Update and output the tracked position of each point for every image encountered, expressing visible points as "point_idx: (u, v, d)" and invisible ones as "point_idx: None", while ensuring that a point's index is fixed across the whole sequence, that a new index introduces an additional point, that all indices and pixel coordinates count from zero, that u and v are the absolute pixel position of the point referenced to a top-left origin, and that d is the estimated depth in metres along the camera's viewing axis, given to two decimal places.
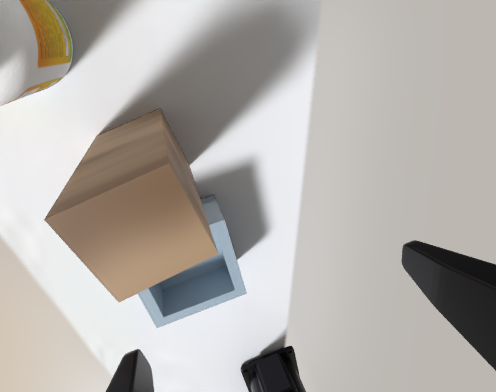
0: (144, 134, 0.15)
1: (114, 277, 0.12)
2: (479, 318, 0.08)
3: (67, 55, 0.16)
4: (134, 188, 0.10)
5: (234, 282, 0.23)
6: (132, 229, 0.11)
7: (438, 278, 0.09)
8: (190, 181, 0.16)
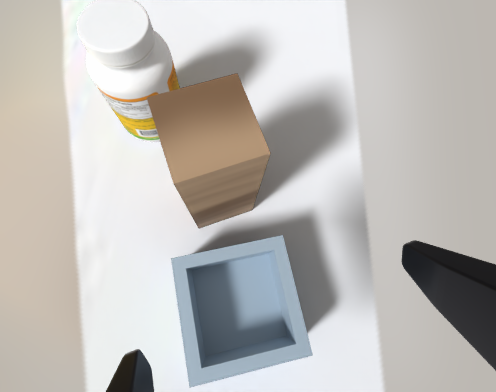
0: None
1: (177, 155, 0.13)
2: (479, 318, 0.08)
3: None
4: (211, 86, 0.14)
5: (295, 329, 0.18)
6: (202, 115, 0.14)
7: (438, 278, 0.09)
8: None
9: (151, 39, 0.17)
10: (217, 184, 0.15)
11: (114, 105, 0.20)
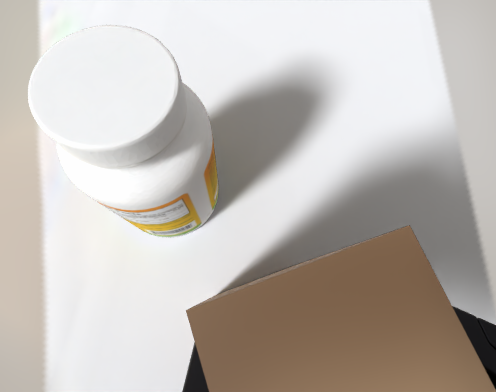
0: None
1: None
2: None
3: (214, 199, 0.15)
4: (351, 266, 0.05)
5: None
6: (340, 366, 0.05)
7: None
8: None
9: (182, 111, 0.09)
10: None
11: None
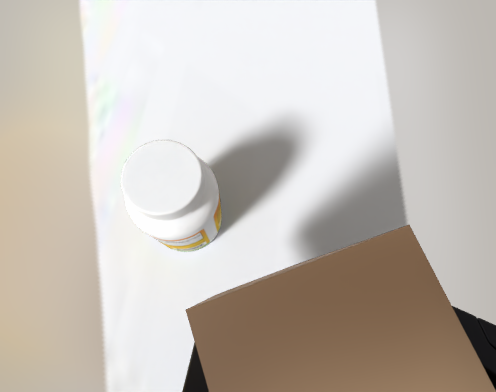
0: None
1: None
2: None
3: (219, 225, 0.22)
4: (351, 266, 0.05)
5: None
6: (339, 364, 0.05)
7: None
8: None
9: (203, 187, 0.15)
10: None
11: None
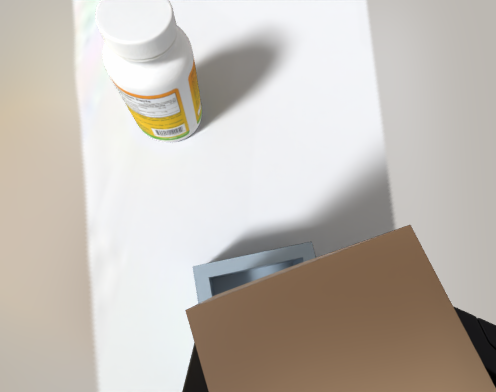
0: (298, 264, 0.11)
1: None
2: None
3: (198, 114, 0.23)
4: (352, 266, 0.05)
5: None
6: (340, 366, 0.05)
7: None
8: None
9: (174, 31, 0.16)
10: None
11: (131, 102, 0.19)
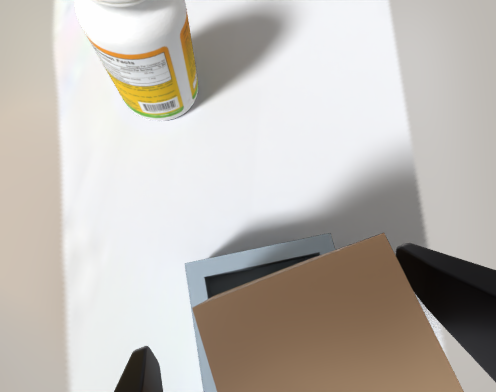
0: None
1: None
2: (471, 321, 0.08)
3: (193, 87, 0.20)
4: (333, 269, 0.06)
5: None
6: (322, 353, 0.06)
7: (431, 281, 0.09)
8: None
9: None
10: None
11: (111, 66, 0.16)
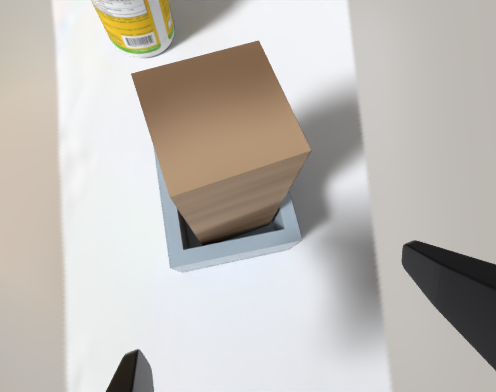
0: None
1: (175, 155, 0.09)
2: (479, 318, 0.08)
3: (168, 27, 0.23)
4: (223, 57, 0.10)
5: (283, 215, 0.17)
6: (210, 98, 0.10)
7: (438, 278, 0.09)
8: None
9: None
10: (231, 196, 0.11)
11: None
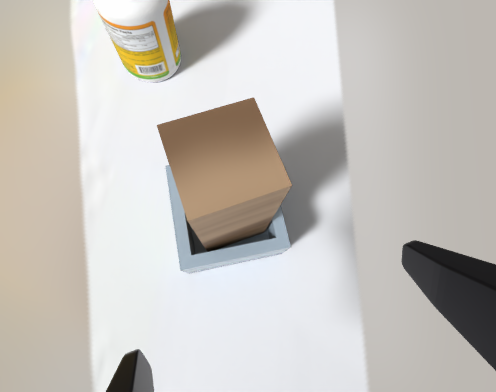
0: None
1: (191, 189, 0.12)
2: (479, 318, 0.08)
3: (176, 56, 0.26)
4: (226, 112, 0.13)
5: (275, 226, 0.20)
6: (217, 144, 0.13)
7: (438, 278, 0.09)
8: None
9: None
10: (232, 216, 0.14)
11: (116, 36, 0.22)
